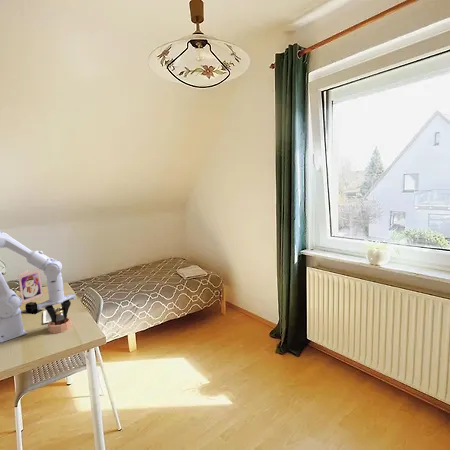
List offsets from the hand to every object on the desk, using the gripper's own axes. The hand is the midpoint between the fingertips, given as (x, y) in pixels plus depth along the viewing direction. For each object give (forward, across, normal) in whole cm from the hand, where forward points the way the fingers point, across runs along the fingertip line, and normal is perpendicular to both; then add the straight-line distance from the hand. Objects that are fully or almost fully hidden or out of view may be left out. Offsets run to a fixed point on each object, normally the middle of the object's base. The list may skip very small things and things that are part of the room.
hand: (59, 319), depth 134 cm
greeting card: (+4, +2, +49) cm, 49 cm away
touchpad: (+4, +2, +15) cm, 16 cm away
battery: (+2, 0, 0) cm, 2 cm away
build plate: (+4, -2, +30) cm, 30 cm away
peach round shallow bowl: (+4, 0, 0) cm, 4 cm away
